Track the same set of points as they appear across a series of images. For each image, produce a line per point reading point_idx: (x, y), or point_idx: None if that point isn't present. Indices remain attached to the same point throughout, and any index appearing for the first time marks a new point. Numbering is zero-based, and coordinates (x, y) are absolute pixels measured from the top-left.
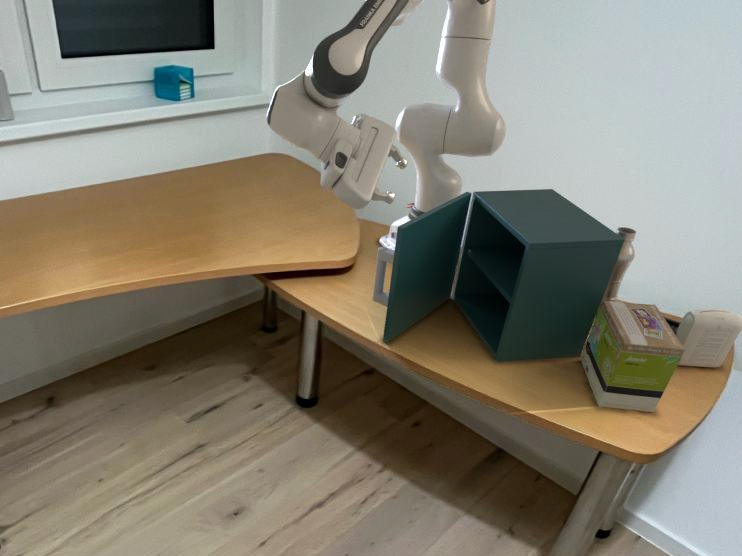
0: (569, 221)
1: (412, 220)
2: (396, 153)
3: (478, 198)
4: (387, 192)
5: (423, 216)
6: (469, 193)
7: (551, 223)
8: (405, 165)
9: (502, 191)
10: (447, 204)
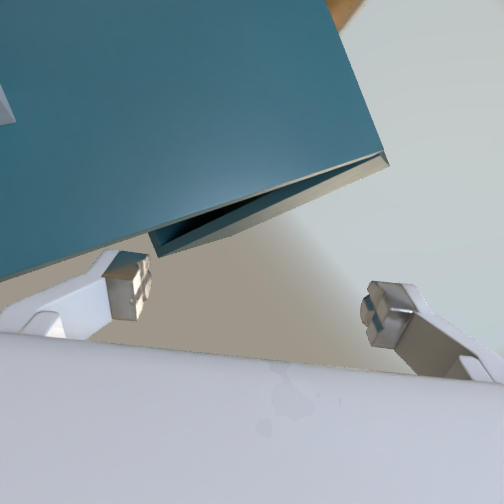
0: (260, 220)
1: (83, 251)
2: (431, 375)
3: (342, 167)
4: (127, 311)
5: (144, 232)
6: (369, 156)
7: (243, 225)
8: (363, 309)
9: (378, 163)
10: (274, 188)
